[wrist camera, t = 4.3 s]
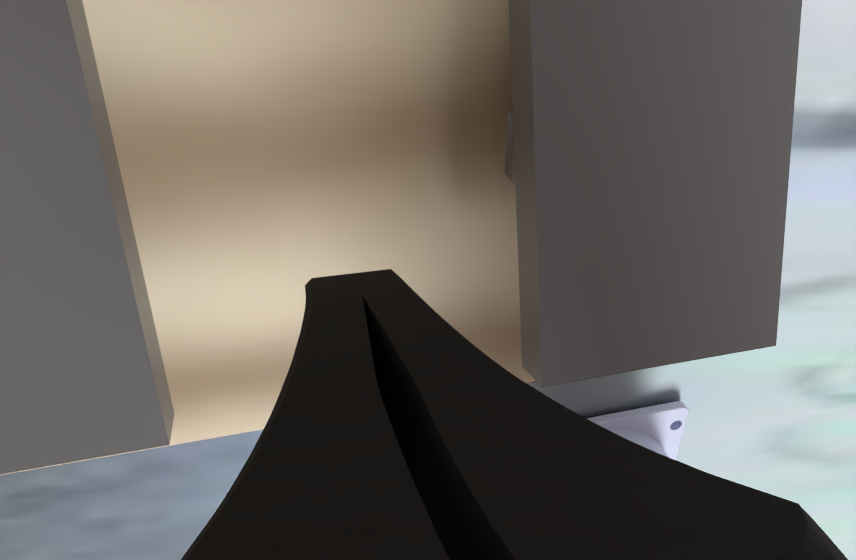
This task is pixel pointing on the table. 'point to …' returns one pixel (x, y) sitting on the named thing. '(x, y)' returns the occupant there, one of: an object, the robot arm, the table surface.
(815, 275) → the table surface
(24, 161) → the rocker
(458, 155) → the switch panel
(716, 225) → the rocker
